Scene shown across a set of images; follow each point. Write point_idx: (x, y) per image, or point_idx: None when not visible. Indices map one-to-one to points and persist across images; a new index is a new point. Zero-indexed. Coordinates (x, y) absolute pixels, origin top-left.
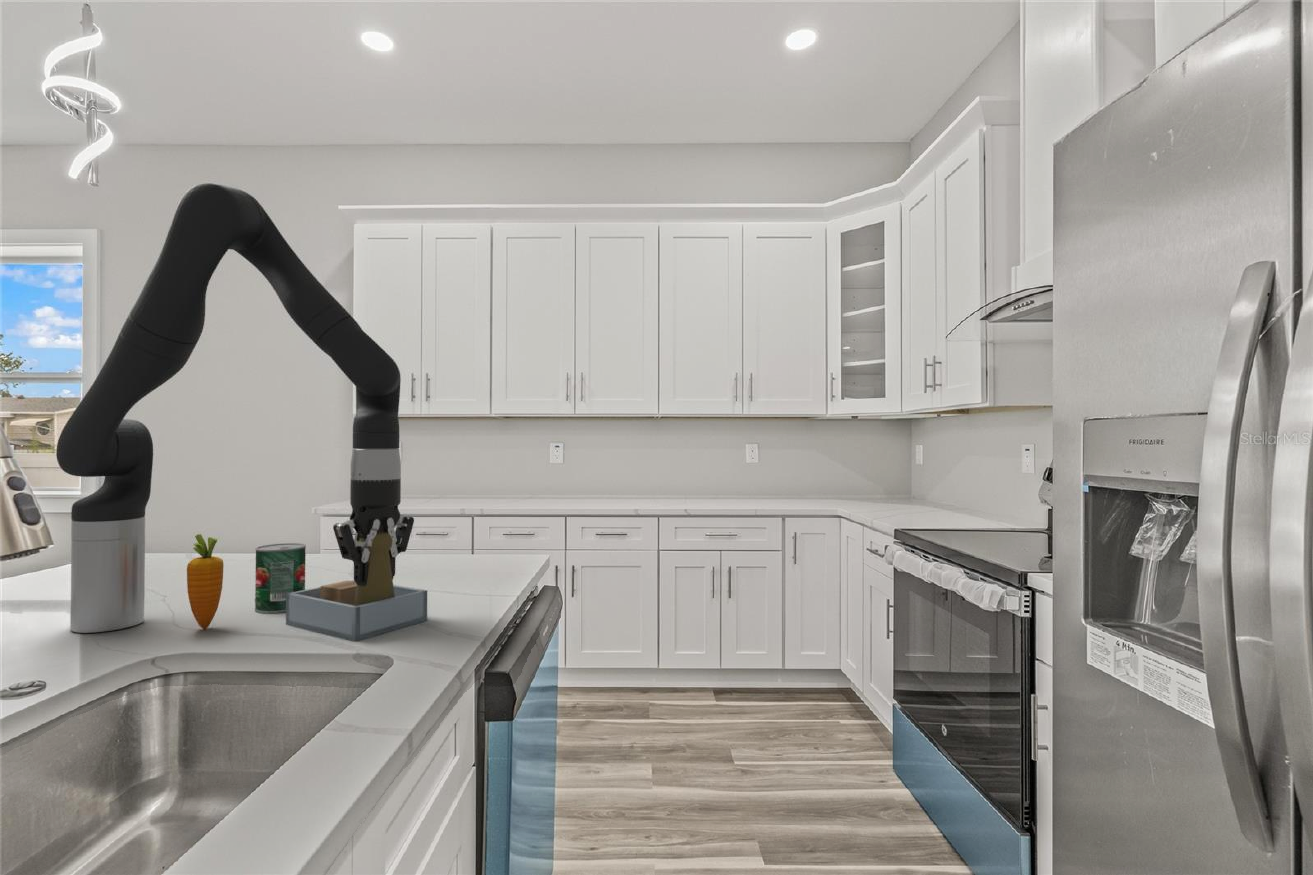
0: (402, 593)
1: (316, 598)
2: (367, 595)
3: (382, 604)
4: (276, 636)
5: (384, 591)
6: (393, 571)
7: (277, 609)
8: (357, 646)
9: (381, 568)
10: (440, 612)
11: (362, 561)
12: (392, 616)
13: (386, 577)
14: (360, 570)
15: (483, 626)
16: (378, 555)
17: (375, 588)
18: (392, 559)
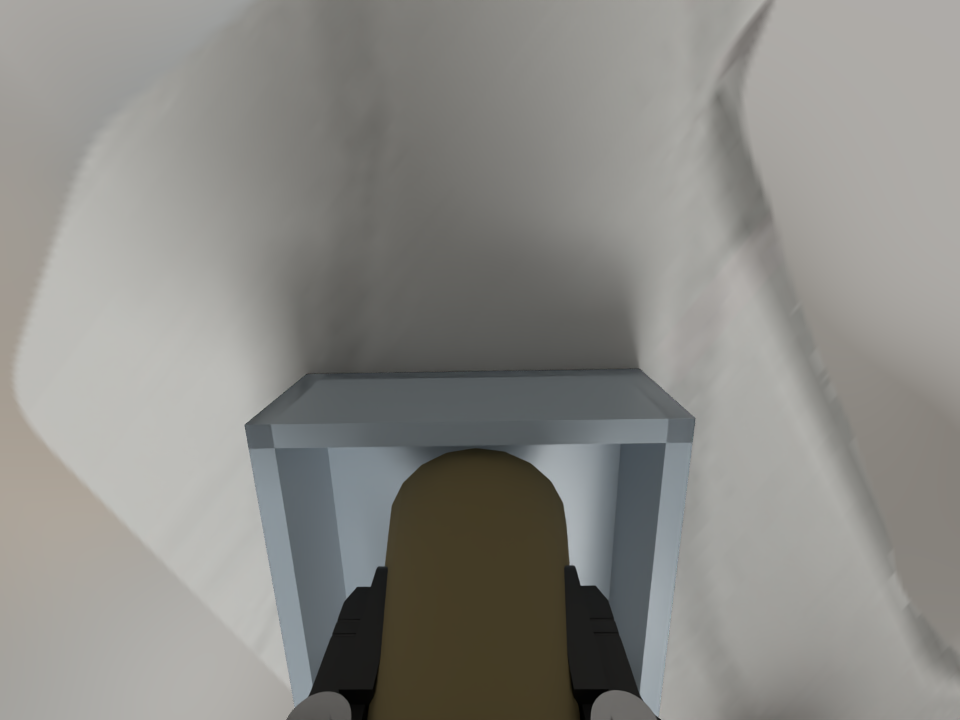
0: (303, 547)
1: (646, 683)
2: (557, 515)
3: (534, 413)
4: (713, 613)
5: (486, 485)
6: (354, 611)
7: None
8: (677, 310)
9: (499, 597)
10: (198, 425)
11: (642, 703)
12: (474, 390)
13: (464, 541)
14: (619, 652)
15: (200, 88)
16: (518, 712)
17: (534, 512)
18: (352, 679)
